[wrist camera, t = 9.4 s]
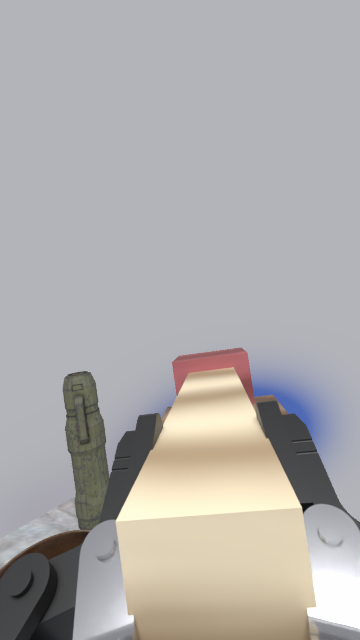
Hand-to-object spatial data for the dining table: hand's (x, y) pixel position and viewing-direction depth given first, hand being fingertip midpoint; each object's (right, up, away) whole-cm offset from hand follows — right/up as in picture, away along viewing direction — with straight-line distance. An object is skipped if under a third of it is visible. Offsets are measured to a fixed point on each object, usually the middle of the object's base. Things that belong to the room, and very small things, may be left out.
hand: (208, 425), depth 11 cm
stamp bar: (+1, -3, +6) cm, 7 cm away
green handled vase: (-21, -44, +60) cm, 77 cm away
